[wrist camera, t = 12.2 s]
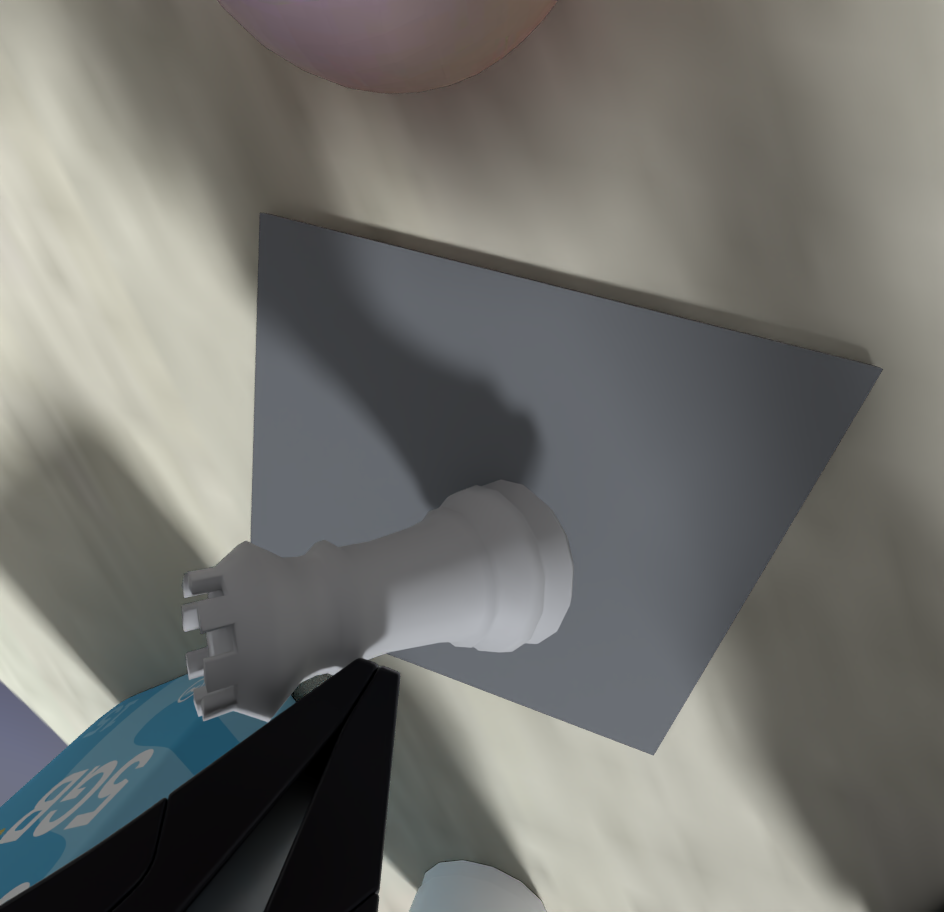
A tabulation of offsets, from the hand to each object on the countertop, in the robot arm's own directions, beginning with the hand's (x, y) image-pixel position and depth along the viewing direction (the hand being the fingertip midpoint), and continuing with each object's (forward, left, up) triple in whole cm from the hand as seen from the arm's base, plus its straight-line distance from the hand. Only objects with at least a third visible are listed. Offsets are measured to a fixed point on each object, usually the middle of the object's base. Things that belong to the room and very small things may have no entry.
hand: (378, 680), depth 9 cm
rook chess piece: (-2, 0, -6) cm, 6 cm away
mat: (0, 0, -7) cm, 7 cm away
